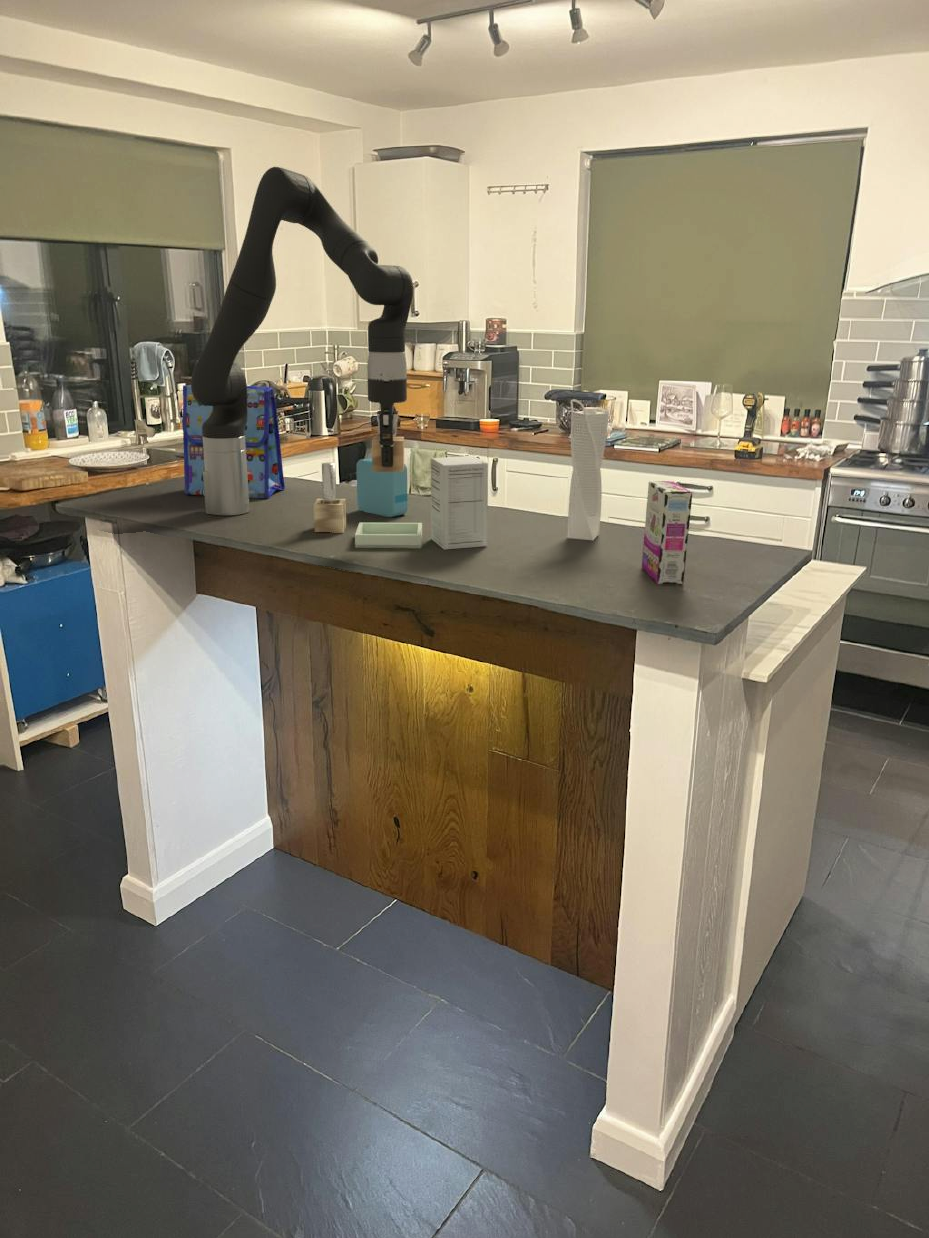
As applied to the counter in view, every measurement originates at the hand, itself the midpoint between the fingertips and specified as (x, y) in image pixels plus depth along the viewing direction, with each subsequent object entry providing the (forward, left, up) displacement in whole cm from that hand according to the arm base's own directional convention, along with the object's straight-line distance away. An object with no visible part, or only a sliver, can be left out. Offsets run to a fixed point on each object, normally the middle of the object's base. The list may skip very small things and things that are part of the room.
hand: (388, 463), depth 185 cm
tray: (0, 0, -16) cm, 16 cm away
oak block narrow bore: (0, 0, -1) cm, 1 cm away
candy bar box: (+50, -25, -16) cm, 58 cm away
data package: (-3, +27, -16) cm, 31 cm away
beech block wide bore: (-13, +10, -16) cm, 23 cm away
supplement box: (+14, -1, -16) cm, 21 cm away
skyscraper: (+40, +5, -16) cm, 43 cm away
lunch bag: (-41, +50, -16) cm, 67 cm away
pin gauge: (-13, +10, -16) cm, 23 cm away
